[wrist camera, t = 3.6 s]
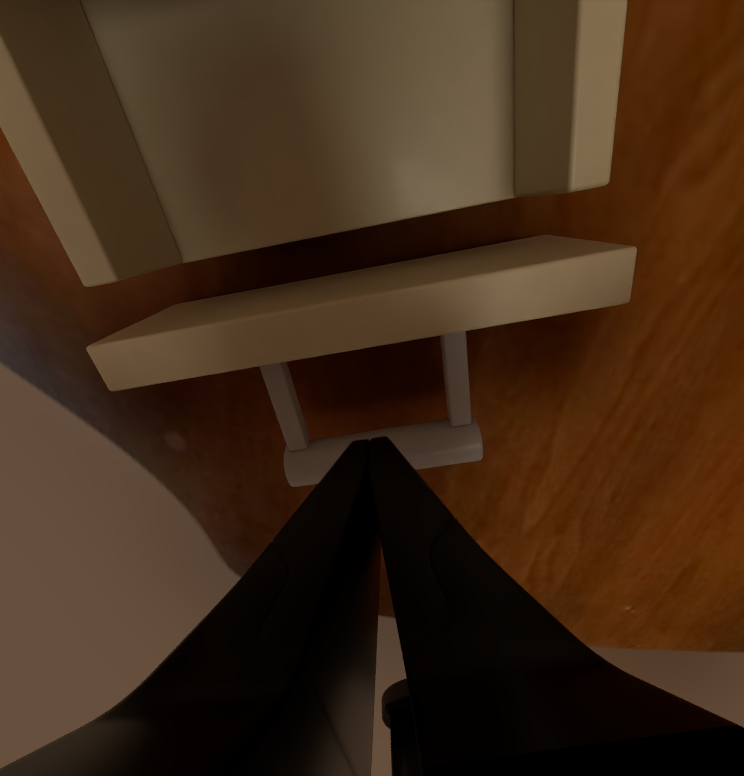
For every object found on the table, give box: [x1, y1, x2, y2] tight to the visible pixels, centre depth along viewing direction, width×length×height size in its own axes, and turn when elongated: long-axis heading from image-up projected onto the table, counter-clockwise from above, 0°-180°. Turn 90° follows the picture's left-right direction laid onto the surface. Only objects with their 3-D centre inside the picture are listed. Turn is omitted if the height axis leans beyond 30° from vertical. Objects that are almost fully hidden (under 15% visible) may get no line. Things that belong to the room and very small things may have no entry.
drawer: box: [0, 0, 637, 487], centre depth 8 cm, size 21×12×4 cm, turn 10°
